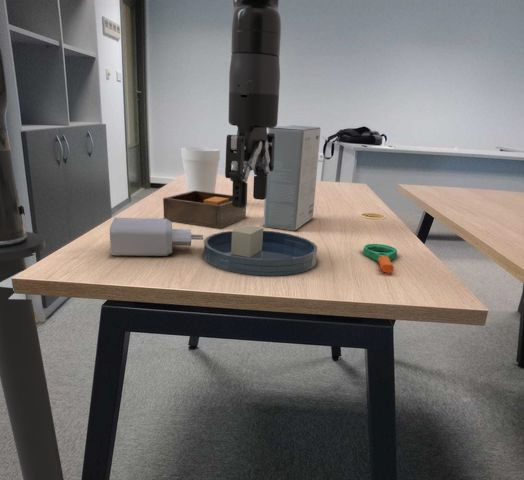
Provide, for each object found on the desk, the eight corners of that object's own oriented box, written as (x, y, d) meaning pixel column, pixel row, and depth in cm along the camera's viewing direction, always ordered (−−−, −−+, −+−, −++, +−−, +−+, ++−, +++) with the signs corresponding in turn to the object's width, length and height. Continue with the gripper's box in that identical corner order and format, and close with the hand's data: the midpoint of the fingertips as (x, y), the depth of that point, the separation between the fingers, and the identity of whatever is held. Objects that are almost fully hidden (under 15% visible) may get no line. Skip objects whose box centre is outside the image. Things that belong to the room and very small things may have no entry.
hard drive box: (282, 214, 115) (289, 124, 106) (313, 218, 113) (322, 127, 104) (261, 227, 102) (267, 125, 93) (295, 231, 100) (304, 128, 91)
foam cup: (186, 198, 127) (185, 146, 121) (220, 201, 127) (221, 148, 121) (179, 205, 118) (178, 149, 112) (216, 207, 118) (216, 151, 112)
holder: (163, 220, 103) (162, 198, 100) (194, 210, 114) (194, 190, 112) (219, 228, 98) (220, 206, 96) (245, 217, 110) (246, 197, 108)
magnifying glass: (361, 248, 91) (363, 240, 90) (393, 251, 90) (395, 242, 89) (367, 272, 77) (369, 262, 76) (405, 276, 77) (407, 266, 76)
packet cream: (231, 254, 80) (231, 230, 78) (244, 247, 84) (244, 224, 83) (249, 257, 79) (251, 233, 77) (262, 250, 83) (263, 227, 82)
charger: (204, 258, 79) (111, 257, 76) (201, 244, 87) (117, 242, 84) (204, 230, 77) (108, 228, 74) (201, 218, 85) (115, 215, 82)
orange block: (203, 218, 103) (203, 199, 102) (214, 214, 108) (215, 196, 106) (217, 220, 102) (218, 201, 101) (228, 216, 107) (229, 198, 105)
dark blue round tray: (182, 262, 76) (182, 247, 75) (232, 238, 92) (233, 225, 91) (295, 283, 70) (297, 267, 69) (328, 253, 86) (329, 239, 85)
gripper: (249, 92, 78) (246, 194, 85) (209, 87, 66) (209, 207, 73) (292, 94, 75) (285, 199, 83) (259, 89, 63) (254, 213, 71)
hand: (249, 202), depth 78 cm, fingers open, 8 cm apart
